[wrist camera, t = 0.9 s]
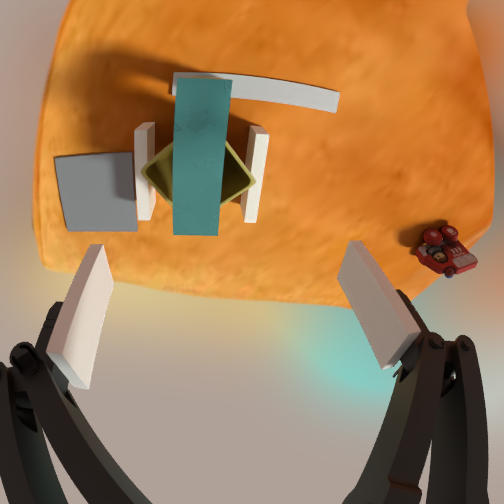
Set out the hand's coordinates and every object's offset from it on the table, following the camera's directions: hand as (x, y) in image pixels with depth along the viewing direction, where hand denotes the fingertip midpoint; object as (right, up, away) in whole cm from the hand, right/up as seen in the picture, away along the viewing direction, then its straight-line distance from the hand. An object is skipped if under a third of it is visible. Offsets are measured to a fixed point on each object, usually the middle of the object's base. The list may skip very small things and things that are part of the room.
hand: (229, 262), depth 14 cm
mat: (-21, +9, +20) cm, 31 cm away
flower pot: (-6, +14, +20) cm, 25 cm away
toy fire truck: (+39, +3, +36) cm, 53 cm away
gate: (-5, +16, +17) cm, 24 cm away
